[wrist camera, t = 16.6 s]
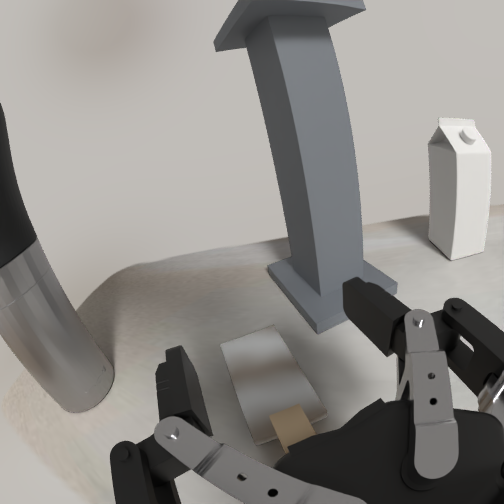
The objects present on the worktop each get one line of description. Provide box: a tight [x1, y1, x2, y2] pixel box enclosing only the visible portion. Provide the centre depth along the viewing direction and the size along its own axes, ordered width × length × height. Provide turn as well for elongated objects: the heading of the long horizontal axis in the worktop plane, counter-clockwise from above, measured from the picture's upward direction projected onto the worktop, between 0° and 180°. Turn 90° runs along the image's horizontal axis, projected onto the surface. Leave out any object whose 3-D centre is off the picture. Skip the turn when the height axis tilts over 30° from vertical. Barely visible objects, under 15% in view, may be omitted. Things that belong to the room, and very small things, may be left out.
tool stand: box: [214, 0, 397, 334], centre depth 27 cm, size 14×11×32 cm
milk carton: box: [428, 118, 491, 260], centre depth 29 cm, size 7×7×19 cm
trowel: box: [220, 325, 327, 454], centre depth 18 cm, size 21×6×2 cm, turn 17°
